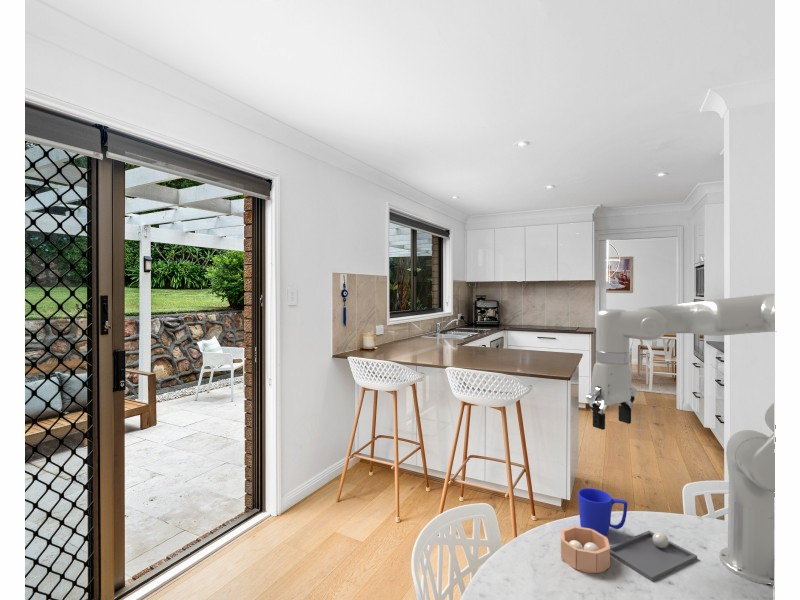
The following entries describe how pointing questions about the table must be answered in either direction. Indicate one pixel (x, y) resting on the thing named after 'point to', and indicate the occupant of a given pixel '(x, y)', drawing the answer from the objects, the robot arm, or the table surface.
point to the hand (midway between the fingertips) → (612, 425)
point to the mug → (598, 510)
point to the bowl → (585, 558)
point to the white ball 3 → (660, 540)
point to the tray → (650, 556)
